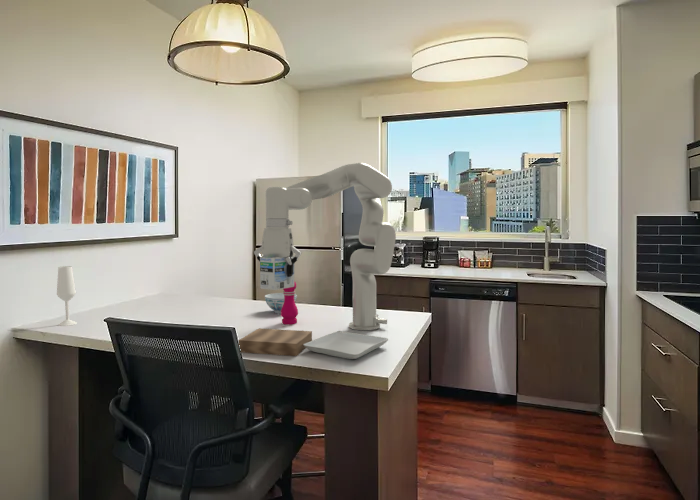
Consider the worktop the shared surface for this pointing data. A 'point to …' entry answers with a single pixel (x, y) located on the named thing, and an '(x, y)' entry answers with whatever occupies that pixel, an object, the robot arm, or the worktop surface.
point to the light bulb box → (275, 273)
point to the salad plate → (345, 344)
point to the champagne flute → (66, 290)
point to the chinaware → (276, 301)
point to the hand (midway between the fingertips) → (277, 275)
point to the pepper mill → (289, 306)
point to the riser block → (275, 342)
